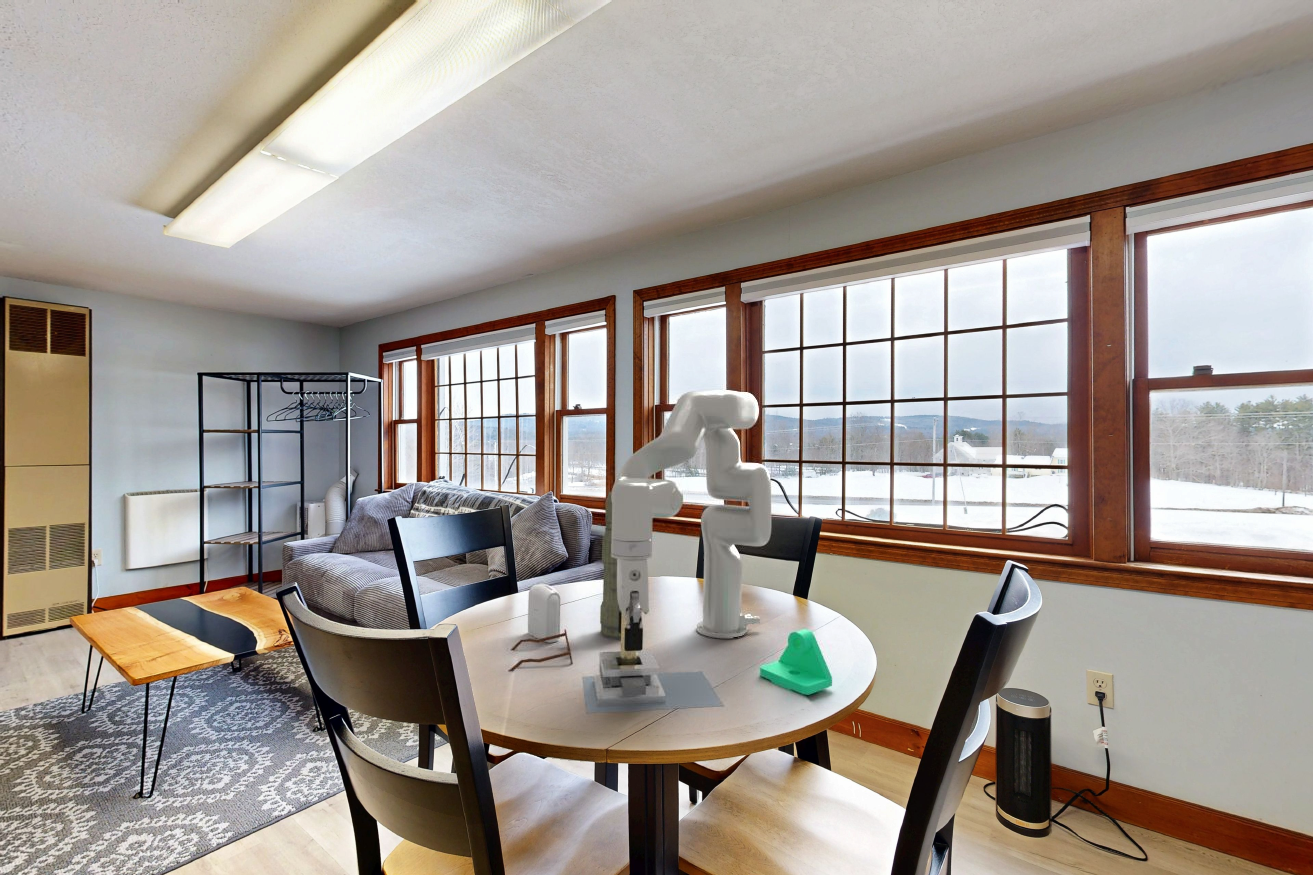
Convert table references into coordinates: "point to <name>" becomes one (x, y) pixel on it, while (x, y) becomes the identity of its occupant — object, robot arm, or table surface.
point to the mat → (678, 691)
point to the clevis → (628, 680)
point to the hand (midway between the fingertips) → (629, 641)
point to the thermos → (609, 582)
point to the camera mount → (800, 665)
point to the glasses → (545, 657)
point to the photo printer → (543, 612)
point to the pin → (626, 656)
